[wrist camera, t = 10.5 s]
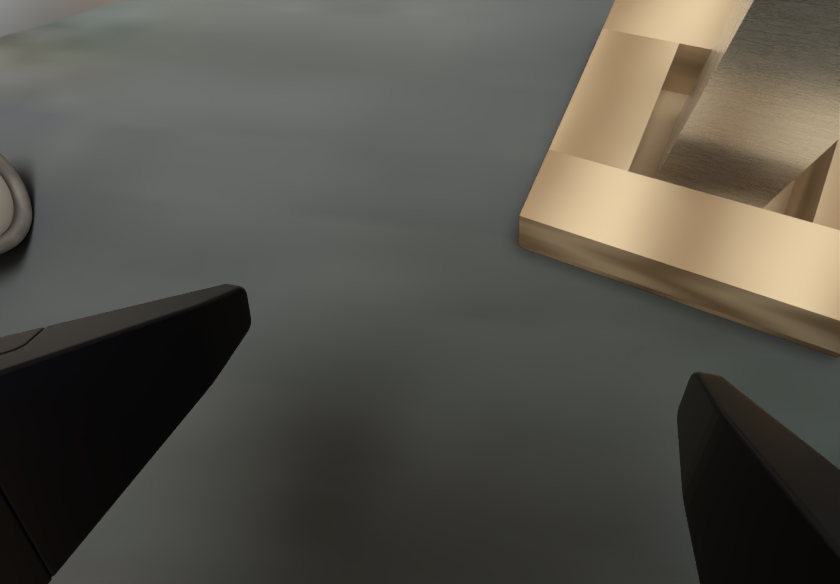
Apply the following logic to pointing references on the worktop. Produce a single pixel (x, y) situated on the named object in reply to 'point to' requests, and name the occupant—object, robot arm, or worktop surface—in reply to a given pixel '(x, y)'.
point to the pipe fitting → (13, 207)
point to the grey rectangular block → (760, 102)
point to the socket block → (680, 190)
